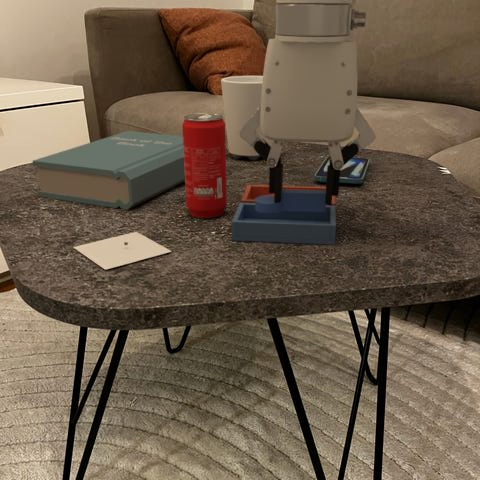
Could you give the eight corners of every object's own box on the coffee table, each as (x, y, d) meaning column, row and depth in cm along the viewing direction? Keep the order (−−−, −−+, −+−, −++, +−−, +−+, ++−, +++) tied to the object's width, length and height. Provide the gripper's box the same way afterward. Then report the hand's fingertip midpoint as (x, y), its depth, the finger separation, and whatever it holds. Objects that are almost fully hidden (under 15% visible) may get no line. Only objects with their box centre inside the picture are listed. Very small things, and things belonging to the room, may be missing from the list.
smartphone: (370, 158, 99) (363, 179, 86) (370, 164, 99) (362, 186, 86) (326, 155, 101) (312, 176, 88) (326, 161, 101) (312, 182, 88)
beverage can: (180, 216, 75) (174, 118, 70) (197, 205, 80) (193, 112, 74) (217, 221, 74) (214, 121, 68) (232, 209, 78) (231, 114, 72)
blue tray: (334, 223, 73) (335, 205, 72) (334, 245, 66) (336, 225, 65) (239, 220, 74) (239, 202, 73) (231, 240, 68) (231, 221, 67)
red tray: (333, 204, 80) (334, 187, 79) (333, 221, 73) (335, 203, 72) (247, 201, 81) (247, 184, 80) (240, 218, 75) (240, 200, 74)
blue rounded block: (325, 206, 70) (326, 187, 69) (325, 215, 67) (326, 196, 66) (256, 204, 71) (256, 186, 70) (253, 213, 68) (253, 194, 67)
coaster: (72, 247, 66) (71, 240, 66) (136, 231, 70) (135, 225, 70) (105, 269, 60) (104, 262, 60) (171, 251, 65) (171, 244, 64)
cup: (267, 164, 99) (269, 83, 93) (213, 160, 102) (211, 81, 96) (285, 152, 107) (287, 76, 101) (234, 148, 110) (233, 74, 104)
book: (129, 161, 102) (127, 131, 99) (212, 170, 96) (211, 138, 93) (38, 196, 84) (32, 160, 81) (133, 210, 78) (129, 172, 75)
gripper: (395, 24, 62) (376, 194, 70) (233, 23, 64) (234, 188, 72) (403, 27, 55) (380, 214, 64) (223, 25, 57) (225, 207, 66)
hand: (303, 198), depth 68 cm, fingers closed on blue rounded block, 5 cm apart
